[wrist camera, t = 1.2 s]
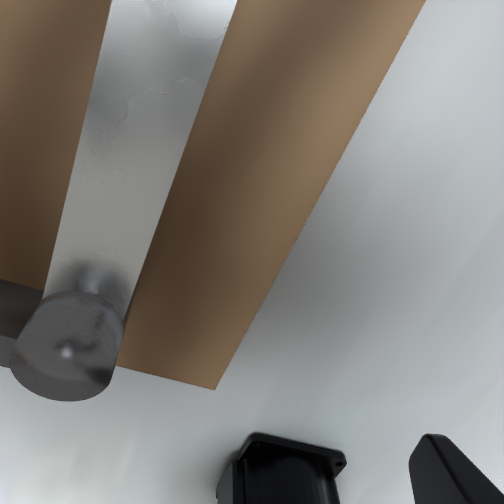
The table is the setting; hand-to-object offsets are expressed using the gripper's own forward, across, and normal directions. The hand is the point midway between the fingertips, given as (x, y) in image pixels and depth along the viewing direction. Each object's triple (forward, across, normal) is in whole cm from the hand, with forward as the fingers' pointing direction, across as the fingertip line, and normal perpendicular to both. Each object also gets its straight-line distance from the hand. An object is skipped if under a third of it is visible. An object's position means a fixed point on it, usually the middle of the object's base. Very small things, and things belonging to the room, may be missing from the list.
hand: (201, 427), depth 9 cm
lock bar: (+10, +3, -1) cm, 11 cm away
